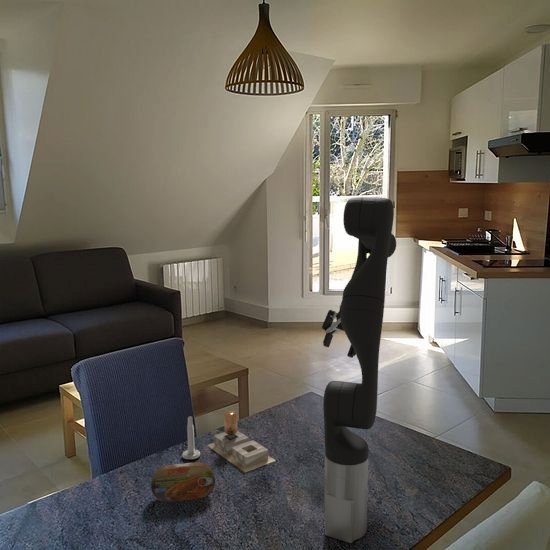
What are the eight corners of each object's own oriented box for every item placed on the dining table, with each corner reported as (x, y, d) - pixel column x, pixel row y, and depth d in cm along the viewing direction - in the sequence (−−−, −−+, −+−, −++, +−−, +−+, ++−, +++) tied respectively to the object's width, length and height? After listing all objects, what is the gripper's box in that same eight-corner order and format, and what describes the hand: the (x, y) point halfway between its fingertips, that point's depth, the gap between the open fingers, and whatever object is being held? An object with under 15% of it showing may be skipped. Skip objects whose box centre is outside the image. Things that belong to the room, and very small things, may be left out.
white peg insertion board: (275, 464, 150) (275, 450, 149) (245, 476, 144) (244, 461, 143) (236, 439, 165) (236, 425, 164) (207, 449, 159) (206, 435, 158)
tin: (151, 503, 132) (150, 470, 131) (152, 496, 135) (150, 464, 134) (215, 497, 135) (214, 465, 133) (214, 490, 138) (214, 459, 136)
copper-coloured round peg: (233, 450, 155) (232, 416, 153) (222, 447, 157) (221, 414, 155) (240, 445, 158) (239, 411, 157) (229, 442, 160) (228, 409, 158)
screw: (198, 455, 155) (202, 463, 151) (180, 458, 153) (184, 466, 149) (196, 411, 153) (201, 417, 149) (179, 413, 151) (183, 420, 147)
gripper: (330, 288, 160) (311, 341, 160) (371, 302, 151) (351, 359, 150) (343, 293, 165) (325, 345, 165) (384, 307, 156) (364, 362, 156)
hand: (337, 351), depth 158 cm, fingers open, 8 cm apart
